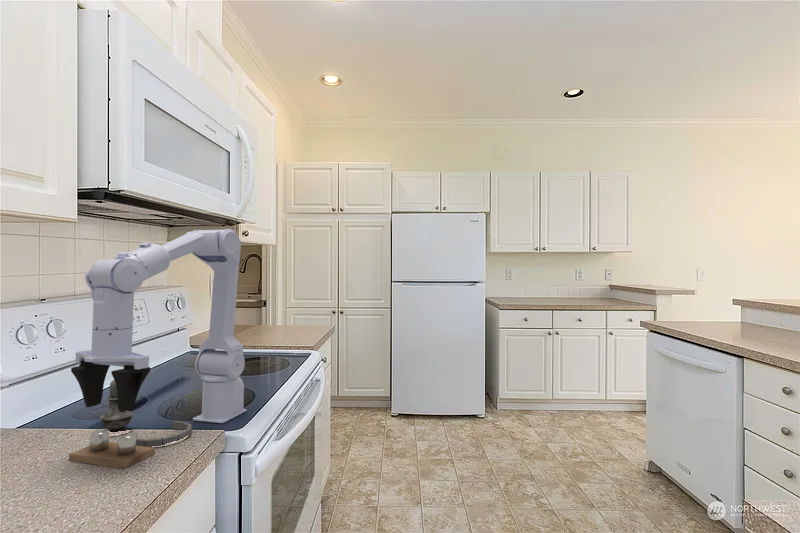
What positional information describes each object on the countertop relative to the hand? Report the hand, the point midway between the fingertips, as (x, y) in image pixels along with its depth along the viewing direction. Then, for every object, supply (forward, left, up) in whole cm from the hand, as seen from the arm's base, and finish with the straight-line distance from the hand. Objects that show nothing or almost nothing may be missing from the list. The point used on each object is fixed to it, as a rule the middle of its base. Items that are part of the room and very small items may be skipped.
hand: (109, 407), depth 70 cm
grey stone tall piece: (-13, -13, -10) cm, 21 cm away
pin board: (-3, -3, -10) cm, 11 cm away
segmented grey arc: (-13, +1, -10) cm, 17 cm away
